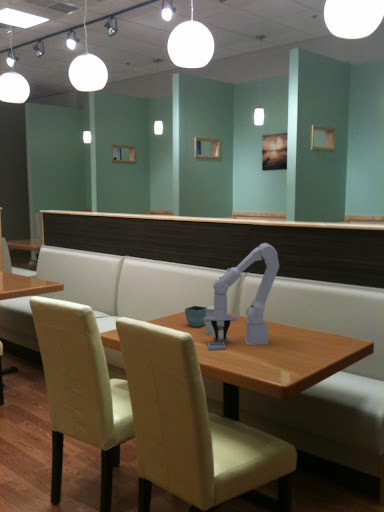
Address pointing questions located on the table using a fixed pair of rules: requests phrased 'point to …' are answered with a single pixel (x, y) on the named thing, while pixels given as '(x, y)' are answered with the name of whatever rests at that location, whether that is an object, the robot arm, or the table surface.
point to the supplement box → (208, 324)
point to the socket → (220, 340)
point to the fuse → (220, 332)
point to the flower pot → (195, 315)
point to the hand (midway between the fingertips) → (220, 337)
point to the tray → (216, 346)
